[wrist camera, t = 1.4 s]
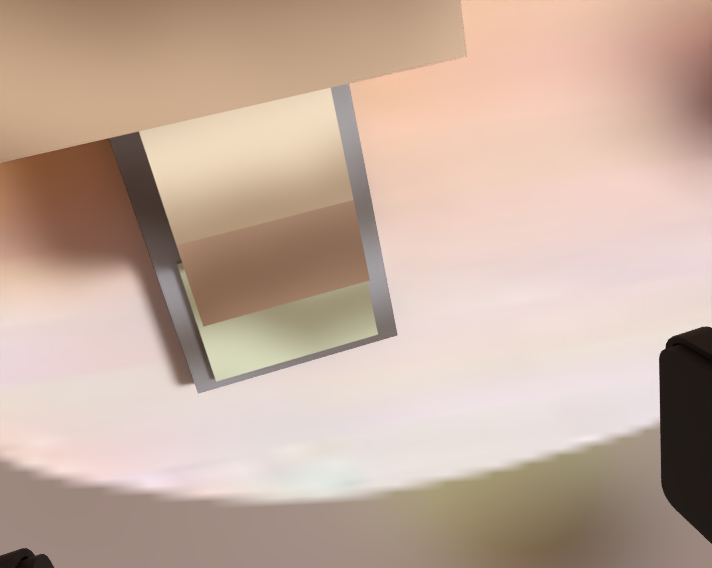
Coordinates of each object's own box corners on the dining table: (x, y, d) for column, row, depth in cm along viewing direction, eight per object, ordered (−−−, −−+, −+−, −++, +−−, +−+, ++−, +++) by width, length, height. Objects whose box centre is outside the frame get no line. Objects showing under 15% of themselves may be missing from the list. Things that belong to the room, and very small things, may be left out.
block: (63, -169, 20) (11, -253, 15) (240, -196, 21) (254, -286, 16) (203, 271, 26) (203, 326, 21) (336, 235, 27) (370, 280, 22)
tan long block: (-146, -499, 18) (-644, -1296, 7) (255, -530, 20) (316, -1213, 9) (177, 389, 30) (164, 570, 19) (410, 321, 31) (514, 453, 21)
